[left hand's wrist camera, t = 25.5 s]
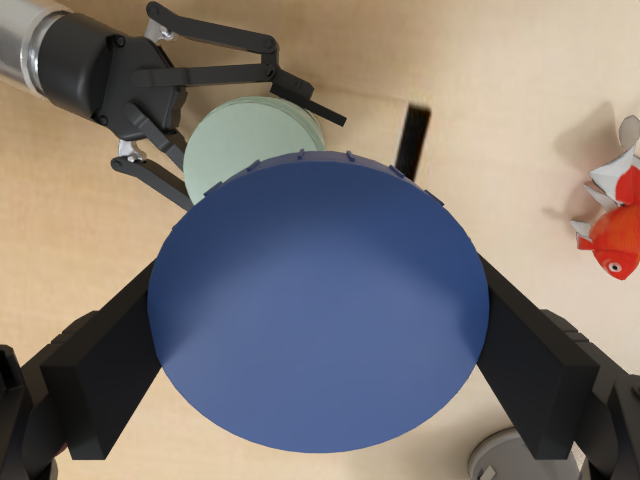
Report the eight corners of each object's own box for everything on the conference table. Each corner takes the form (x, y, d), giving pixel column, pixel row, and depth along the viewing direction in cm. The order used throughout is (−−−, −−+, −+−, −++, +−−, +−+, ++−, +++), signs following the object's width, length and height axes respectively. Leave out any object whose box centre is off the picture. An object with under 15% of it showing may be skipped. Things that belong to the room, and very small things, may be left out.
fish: (526, 261, 36) (649, 271, 27) (548, 119, 38) (673, 84, 29) (583, 278, 41) (704, 291, 32) (601, 151, 42) (723, 129, 33)
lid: (372, 76, 10) (386, 69, 8) (508, 331, 13) (544, 373, 11) (111, 255, 12) (68, 286, 10) (283, 440, 15) (277, 492, 13)
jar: (337, 169, 38) (350, 217, 22) (260, 200, 39) (221, 266, 23) (303, 83, 34) (291, 67, 19) (221, 120, 36) (146, 134, 20)
